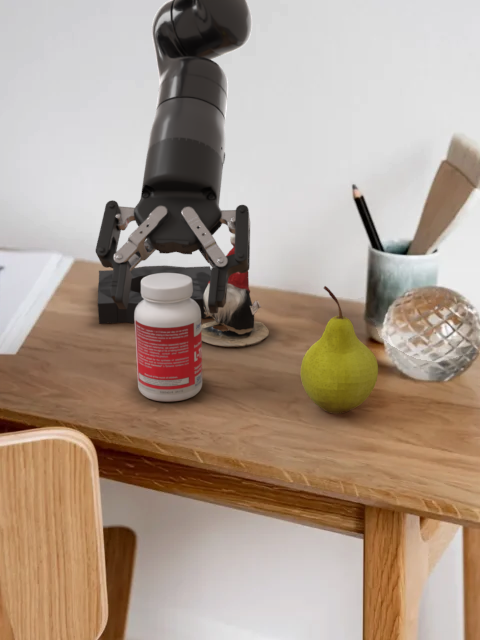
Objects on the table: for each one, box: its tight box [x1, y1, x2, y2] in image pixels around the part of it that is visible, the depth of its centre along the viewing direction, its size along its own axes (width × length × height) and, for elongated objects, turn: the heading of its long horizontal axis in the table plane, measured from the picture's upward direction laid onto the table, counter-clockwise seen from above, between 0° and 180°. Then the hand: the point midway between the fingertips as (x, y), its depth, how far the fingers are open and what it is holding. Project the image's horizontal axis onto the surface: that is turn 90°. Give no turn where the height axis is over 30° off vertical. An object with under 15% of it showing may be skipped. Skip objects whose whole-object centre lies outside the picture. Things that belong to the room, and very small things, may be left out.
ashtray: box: [97, 265, 213, 325], centre depth 102 cm, size 14×14×2 cm
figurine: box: [201, 233, 270, 348], centre depth 93 cm, size 8×10×12 cm
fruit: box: [300, 285, 379, 414], centre depth 75 cm, size 7×7×12 cm
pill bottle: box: [133, 273, 203, 403], centre depth 79 cm, size 6×6×11 cm
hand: (166, 308), depth 77 cm, fingers open, 8 cm apart
